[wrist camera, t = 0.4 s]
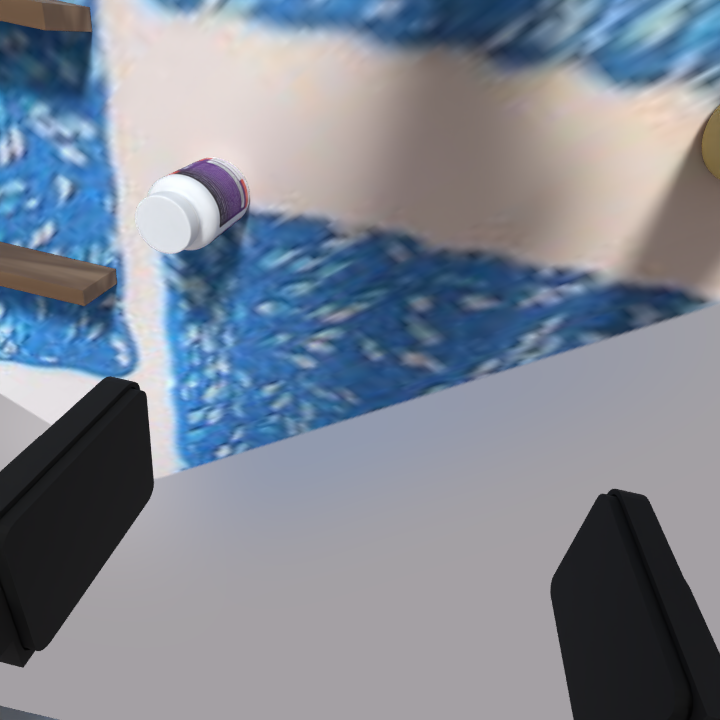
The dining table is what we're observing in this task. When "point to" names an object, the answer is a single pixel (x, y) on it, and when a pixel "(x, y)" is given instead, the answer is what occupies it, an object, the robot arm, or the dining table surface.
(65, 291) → the box
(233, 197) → the pill bottle
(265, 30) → the dining table surface
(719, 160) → the brown upright cylinder piece
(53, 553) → the robot arm
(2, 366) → the dining table surface
